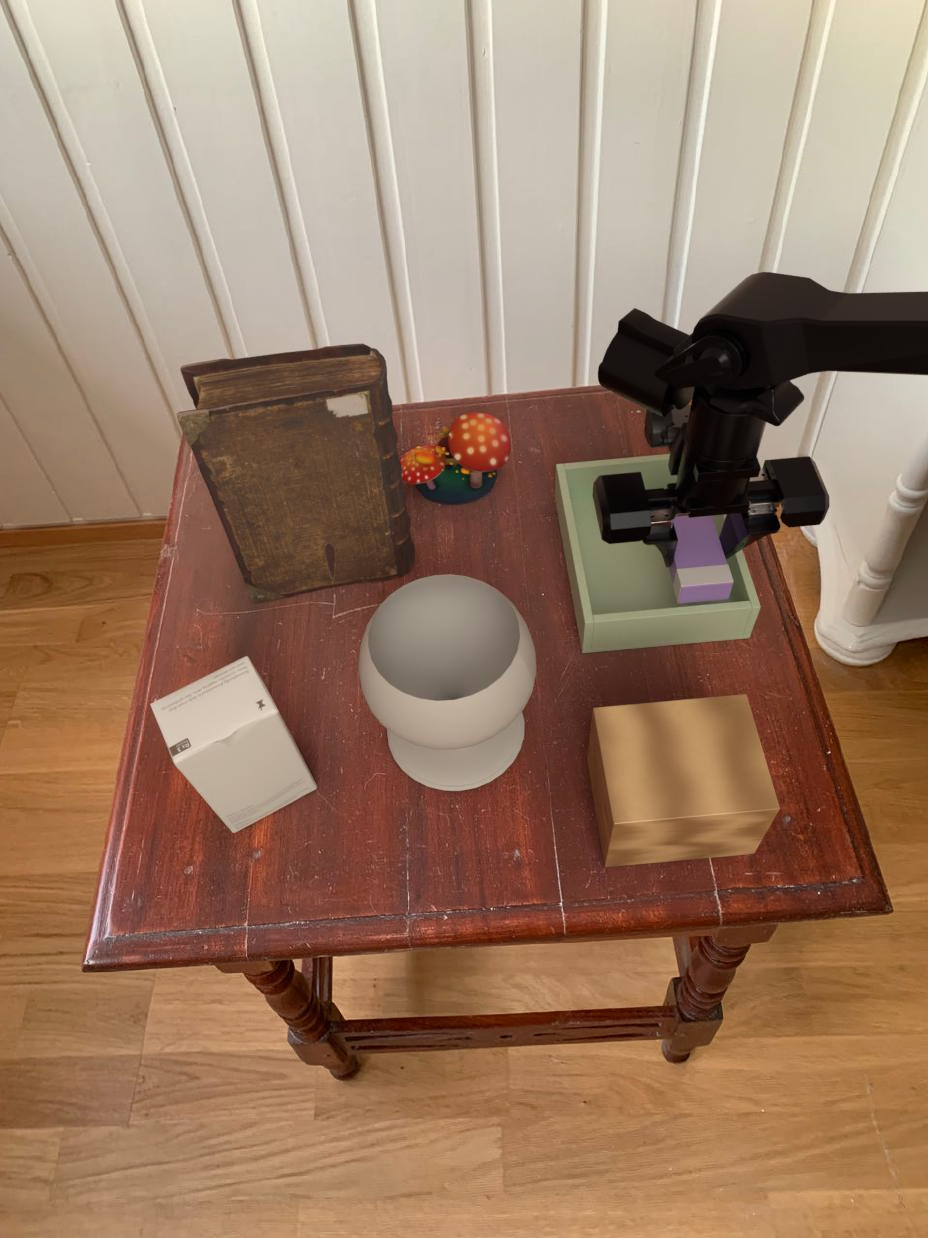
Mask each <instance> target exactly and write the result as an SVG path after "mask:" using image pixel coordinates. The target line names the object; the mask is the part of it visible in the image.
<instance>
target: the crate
mask: <svg viewBox="0 0 928 1238" xmlns="http://www.w3.org/2000/svg"><path fill="white" fill-rule="evenodd" d="M586 763H587V770H588V775H589V782H590V787H591V793H592V800H593V805H594V811H595V812H594V813H595V818H596V824H597V831H598V835H599V841H600V847H601V853H602V860H603V866H604V867H605V868H612V867H613V868H614V867H624V866H634V865H643V864H644V865H645V864H657V863H668V862H669V863H670V862H679V861H691V860H701V859H711V858H713V859H714V858H723V857H724V858H725V857H735V856H745V855H754V854H755V853H756V851H757V850H758V848H759V847H760V844H761V843H762V841H763V839H764V838H765V836H766V835H767V832H768V830H769V829H770V827H771V825H772V824H773V822H774V821H775V819H776V817H777V815H778V814H779V812H780V810H781V807H780V803H779V800H778V797H777V793H776V790H775V787H774V783H773V779H772V776H771V773H770V770H769V766H768V763H767V760H766V756H765V752H764V749H763V746H762V743H761V739H760V735H759V732H758V728H757V725H756V722H755V719H754V714H753V711H752V708H751V704H750V701H749V697H748V694H747V693H742V694H731V695H730V694H729V695H719V696H710V697H709V696H708V697H698V698H686V699H674V700H665V701H653V702H643V703H630V704H620V705H619V704H618V705H609V706H599V707H593V708H592V714H591V722H590V731H589V738H588V746H587V755H586Z"/></svg>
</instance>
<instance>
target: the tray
mask: <svg viewBox="0 0 928 1238" xmlns="http://www.w3.org/2000/svg"><path fill="white" fill-rule="evenodd" d="M669 457H670V453H664V454H652V455H641V456H630V457H621V458H620V457H619V458H611V459H599V460H597V459H596V460H588V461H576V462H565V463H556V464H555V480H554V483H555V485H554V502H555V507H556V514H557V519H558V524H559V530H560V536H561V542H562V547H563V553H564V558H565V564H566V569H567V575H568V582H569V587H570V592H571V598H572V604H573V610H574V614H575V622H576V628H577V633H578V638H579V643H580V650H581V653H582V654H590V653H601V652H611V651H613V652H614V651H622V650H624V651H625V650H635V649H644V648H645V649H647V648H655V647H657V648H658V647H667V646H677V645H688V644H701V643H710V642H722V641H732V640H733V641H734V640H742V639H743V640H744V639H745V640H746V639H750V638H751V636H752V632H753V629H754V627H755V624H756V622H757V619H758V616H759V613H760V610H761V607H762V606H761V603H760V599H759V597H758V594H757V590H756V587H755V584H754V581H753V577H752V575H751V571H750V569H749V565H748V563H747V558H746V556H745V554H744V550H743V549H742V550H740V551H739V552H737V553H736V554H734V555H733V556H731V557H730V558H728V559H727V560H726V561H727V564H728V565H729V568H730V572H731V575H732V578H733V581H734V582H733V585H732V589H731V592H730V595H729V598H728V599H725V600H714V601H703V602H692V603H681V604H678V603H677V600H676V596H675V592H674V588H673V581H672V578H671V574H670V570H669V567H667V568H666V566H665V563H664V560H663V556H662V554H661V552H660V551H659V550H658V548H657V547H656V546H655V545H646V544H644V543H643V542H642V540H641V541H638V542H627V543H616V544H608V543H607V542H605V541H603V540H602V539H601V534H600V529H599V525H598V520H597V515H596V510H595V505H594V501H593V496H592V494H593V483H594V481H595V480H596V479H597V477H598V476H599V475H608V474H619V473H630V472H641V474H642V478H643V482H644V486H645V490H647V489H658V488H664V489H666V486H667V484H669V483H676V480H677V475H672V476H671V474H670V471H669V467H668V463H669ZM726 515H727V514H725V515H714V516H712V517H713V520H714V523H715V526H716V529H717V533H718V536H720V533H721V530H722V527H723V524H724V521H725V518H726Z"/></svg>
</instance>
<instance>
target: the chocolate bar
mask: <svg viewBox="0 0 928 1238" xmlns="http://www.w3.org/2000/svg"><path fill="white" fill-rule="evenodd" d="M673 523H674V527H675V530H676V534H677V538H678V543H677V547H676V552H675V557H674V561H673V563H672V565H671V566H670V567H669V570H670V574H671V578H672V581H673V588H674V592H675V596H676V600H677V603H678V604H681V603H692V602H703V601H714V600H725V599H728V598H729V595H730V592H731V589H732V585H733V582H734V581H733V578H732V575H731V572H730V568H729V565H728V564H727V561H726V558H725V555H724V552H723V549H722V545H721V542H720V539H719V536H718V533H717V529H716V526H715V523H714V520H713V517H712V516H703V517H692V518H689V517H688V516H678V517H675V519H674V521H673Z"/></svg>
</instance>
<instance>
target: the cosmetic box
mask: <svg viewBox="0 0 928 1238" xmlns="http://www.w3.org/2000/svg"><path fill="white" fill-rule="evenodd" d="M149 705H150V707H151V710H152V712H153V715H154V718H155V720H156V722H157V726H158V728H159V730H160V732H161V735H162V737H163V740H164V742H165V745H166V747H167V750H168V752H169V755H170V757H171V760H172V762H173V764H174V766H175V767H176V768H177V769H178V771H179V772H180V773H181V774H182V775H183V776H184V777H185V779H186V780H187V781H188V782H189V784H190V785H191V786H192V787H193V788H194V789H195V790H196V792H197V793H198V794H199V795H200V797H202V799H203V800H204V801H205V803H206V804H208V806H209V807H210V808H211V809H212V810H213V812H214V813H215V814H216V816H218V817H219V819H220V820H221V821H222V823H224V825H225V826H226V827H227V828H228V830H230V832H231V833H232V834H235V833H238V832H240V831H241V830H243V829H245V828H248V827H249V826H251V825H253V824H254V823H257V822H258V821H260V820H262V819H264V818H266V817H268V816H270V815H271V814H273V813H275V812H277V811H278V810H281V809H283V808H284V807H287V806H289V805H290V804H292V803H294V802H295V801H297V800H299V799H301V798H302V797H304V796H306V795H307V794H309V793H312V792H314V791H315V790H316V791H317V789H318V786H317V782H316V781H315V779H314V777H313V775H312V773H311V770H310V768H309V767H308V764H307V763H306V760H305V759H304V756H303V755H302V753H301V751H300V748H299V746H298V745H297V743H296V741H295V738H294V737H293V735H292V733H291V731H290V729H289V728H288V726H287V723H286V722H285V720H284V719H283V716H282V715H281V712H280V711H279V709H278V707H277V705H276V702H275V700H274V699H273V697H272V695H271V693H270V691H269V689H268V687H267V685H266V683H265V682H264V680H263V678H262V677H261V675H260V673H259V672H258V671H257V669H256V667H255V665H254V664H253V662H252V660H251V659H250V657H249V656H248V655H245V656H243V657H241V658H238V659H237V660H235V661H233V662H231V663H229V664H227V665H225V666H223V667H221V668H219V669H217V670H215V671H213V672H211V673H209V674H207V675H205V676H203V677H201V678H199V679H197V680H195V681H193V682H191V683H189V684H186V685H185V686H183V687H181V688H179V689H177V690H175V691H173V692H171V693H169V694H167V695H165V696H163V697H161V698H159V699H157V700H155V701H153V702H151V703H150V704H149Z"/></svg>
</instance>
